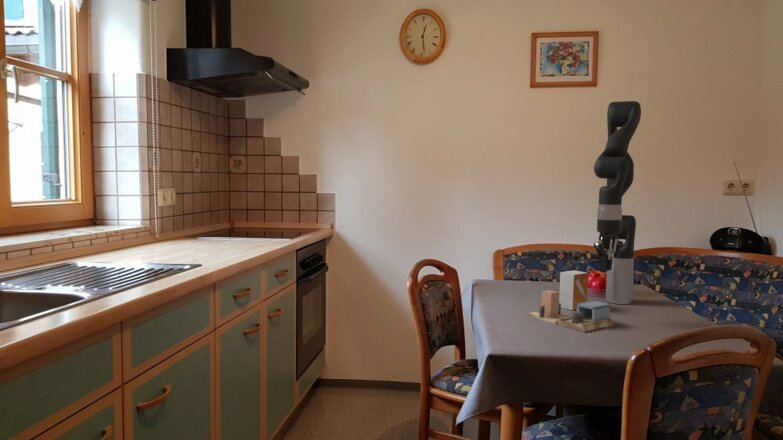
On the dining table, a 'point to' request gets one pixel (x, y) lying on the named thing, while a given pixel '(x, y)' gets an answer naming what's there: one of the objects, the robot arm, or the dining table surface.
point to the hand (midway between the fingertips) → (607, 270)
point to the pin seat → (541, 316)
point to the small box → (573, 289)
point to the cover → (594, 310)
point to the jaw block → (550, 303)
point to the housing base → (583, 322)
